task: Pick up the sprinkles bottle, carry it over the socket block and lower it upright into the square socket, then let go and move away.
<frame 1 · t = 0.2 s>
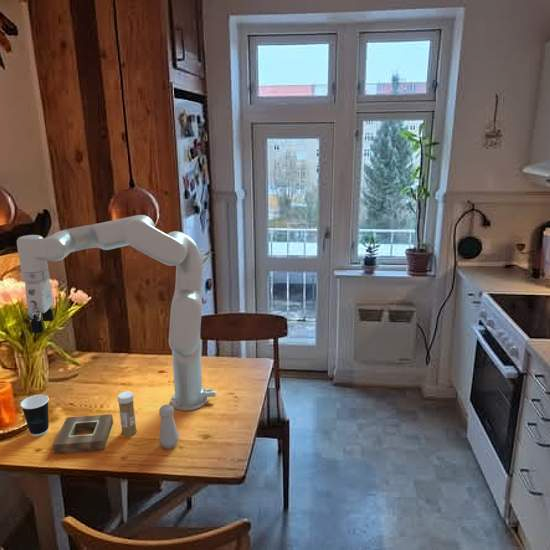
hand: (43, 326, 152), 31 cm above the table, tool pointing down, fingers open, 9 cm apart
socket block: (85, 437, 147), on the table
sprinkles bottle: (129, 433, 149), on the table
dixie cup: (39, 432, 150), on the table
salt shaker: (169, 445, 143), on the table
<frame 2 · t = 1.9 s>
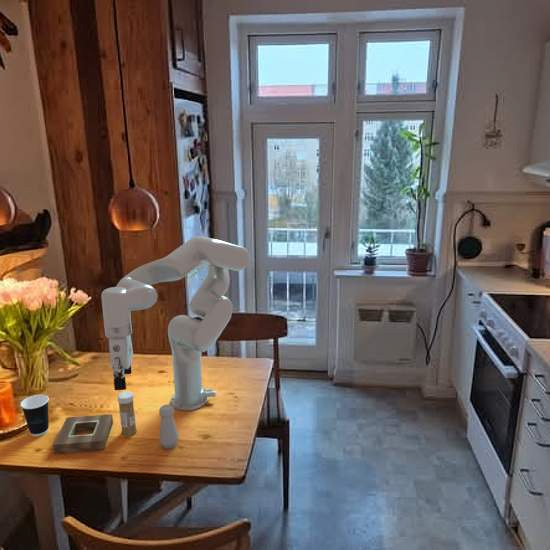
hand: (123, 381, 144), 18 cm above the table, tool pointing down, fingers open, 9 cm apart
nothing on the table moved.
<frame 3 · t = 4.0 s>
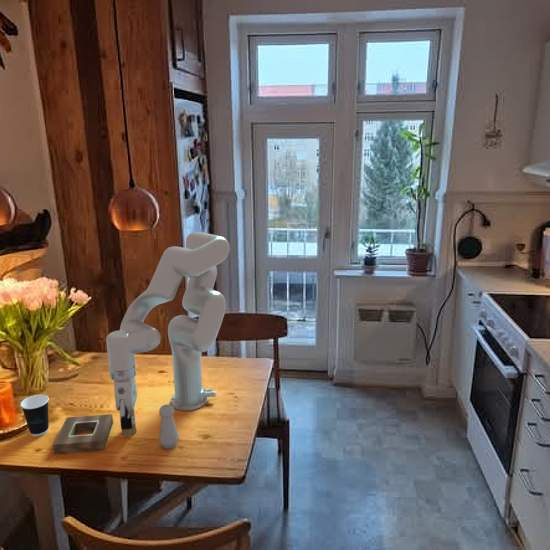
hand: (128, 423, 148), 3 cm above the table, tool pointing down, fingers closed on sprinkles bottle, 4 cm apart
sprinkles bottle: (129, 433, 149), on the table, touching gripper
everything else where it was.
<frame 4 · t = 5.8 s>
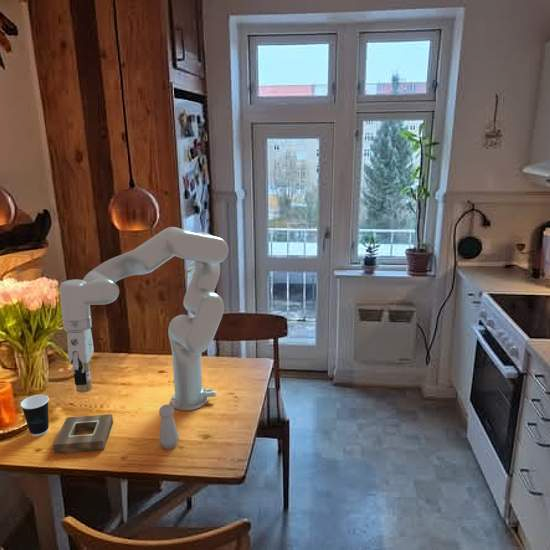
hand: (83, 379, 141), 20 cm above the table, tool pointing down, fingers closed on sprinkles bottle, 4 cm apart
sprinkles bottle: (84, 390, 142), point 16 cm above the table, touching gripper
everything else where it was.
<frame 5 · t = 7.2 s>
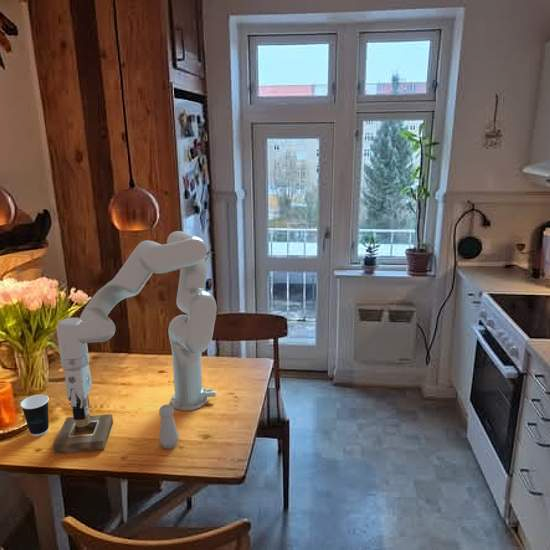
hand: (81, 413, 144), 8 cm above the table, tool pointing down, fingers closed on sprinkles bottle, 4 cm apart
sprinkles bottle: (83, 423, 145), point 5 cm above the table, touching gripper
everything else where it was.
when the fingers open (5 cm above the table, at t = 8.1 s): sprinkles bottle drops 1 cm, resting in socket block.
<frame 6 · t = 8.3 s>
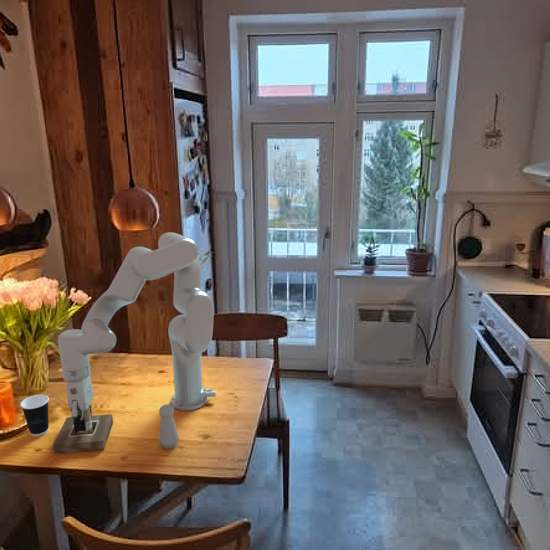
hand: (83, 423, 145), 5 cm above the table, tool pointing down, fingers open, 6 cm apart
sprinkles bottle: (86, 437, 147), resting in socket block
everything else where it was.
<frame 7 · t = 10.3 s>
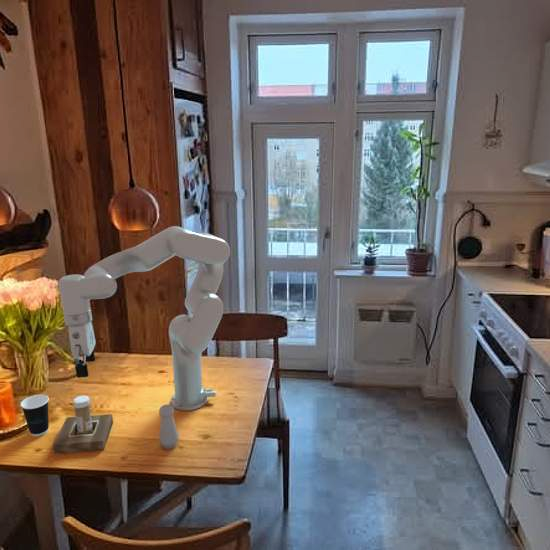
hand: (86, 368, 145), 21 cm above the table, tool pointing down, fingers open, 9 cm apart
nothing on the table moved.
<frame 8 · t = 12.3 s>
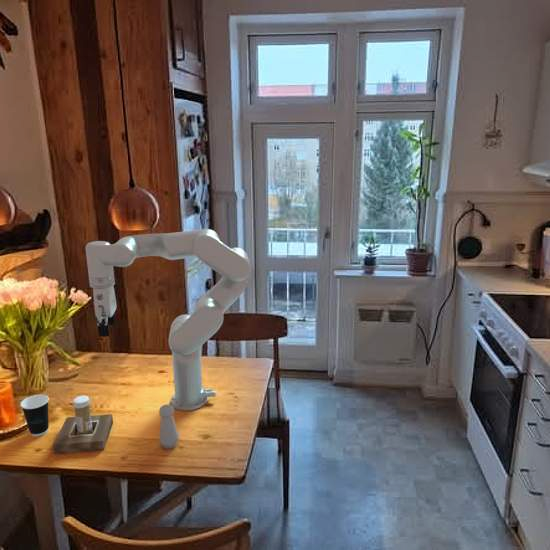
hand: (107, 330, 156), 28 cm above the table, tool pointing down, fingers open, 9 cm apart
nothing on the table moved.
at the end: sprinkles bottle 0.2 cm off-centre on the socket block, point 0.0 cm above the socket block's base; sprinkles bottle tilted 0°; the gripper is holding nothing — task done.
